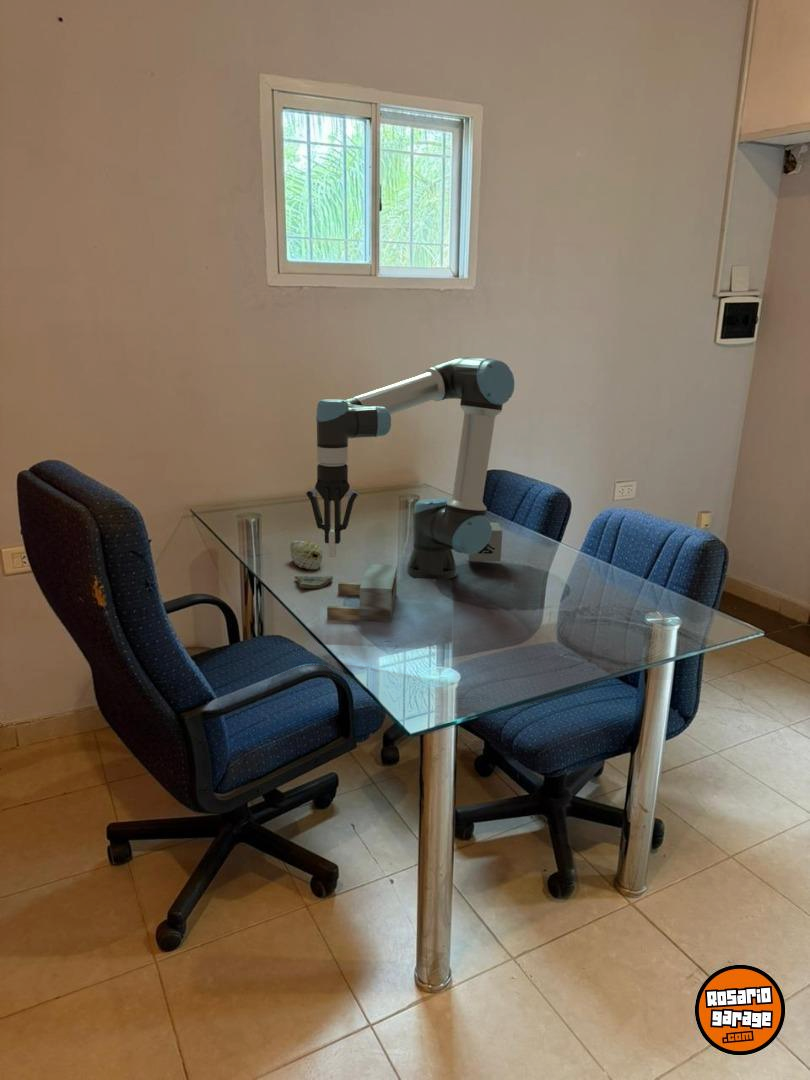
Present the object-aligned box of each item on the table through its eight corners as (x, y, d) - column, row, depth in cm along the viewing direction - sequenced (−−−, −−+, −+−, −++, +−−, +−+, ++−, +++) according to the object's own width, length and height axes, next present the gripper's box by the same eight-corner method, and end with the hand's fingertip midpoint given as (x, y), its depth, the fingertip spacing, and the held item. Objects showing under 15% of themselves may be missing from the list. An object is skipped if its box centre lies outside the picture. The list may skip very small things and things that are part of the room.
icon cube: (465, 552, 244) (466, 522, 241) (496, 552, 244) (497, 522, 241) (468, 561, 234) (470, 530, 232) (500, 561, 234) (502, 530, 232)
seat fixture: (396, 595, 202) (397, 565, 200) (390, 621, 184) (391, 589, 181) (338, 592, 203) (338, 562, 201) (327, 619, 184) (327, 586, 182)
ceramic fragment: (295, 584, 202) (294, 568, 212) (295, 594, 204) (294, 578, 213) (335, 585, 204) (332, 569, 214) (334, 595, 206) (332, 579, 215)
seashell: (320, 569, 218) (309, 536, 217) (291, 578, 221) (279, 546, 220) (331, 562, 228) (320, 531, 227) (303, 571, 230) (292, 540, 230)
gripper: (360, 461, 187) (359, 552, 193) (308, 460, 188) (310, 550, 194) (356, 467, 180) (356, 560, 186) (303, 465, 181) (304, 558, 187)
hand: (332, 555), depth 190 cm, fingers closed
